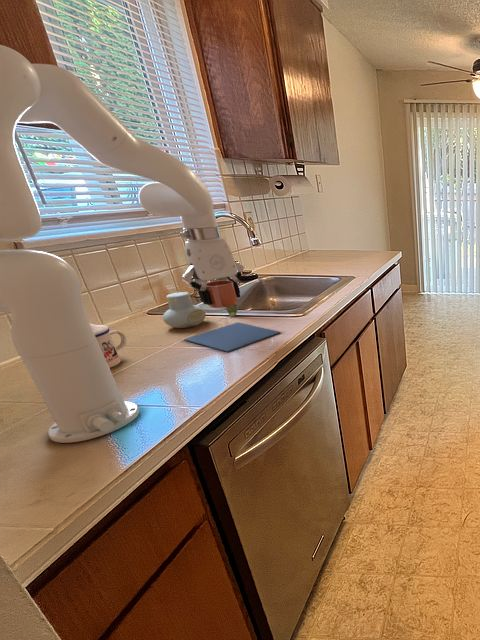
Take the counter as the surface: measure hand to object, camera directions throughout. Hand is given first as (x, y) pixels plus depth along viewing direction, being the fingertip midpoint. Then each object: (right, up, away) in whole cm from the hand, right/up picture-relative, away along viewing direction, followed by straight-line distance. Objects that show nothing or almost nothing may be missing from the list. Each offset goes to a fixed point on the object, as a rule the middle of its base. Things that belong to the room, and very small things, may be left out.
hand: (222, 300), depth 111 cm
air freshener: (-20, -6, +14) cm, 26 cm away
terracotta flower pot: (0, -1, 0) cm, 1 cm away
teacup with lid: (-22, -18, -12) cm, 30 cm away
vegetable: (-11, -2, +23) cm, 26 cm away
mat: (0, -10, +4) cm, 11 cm away
